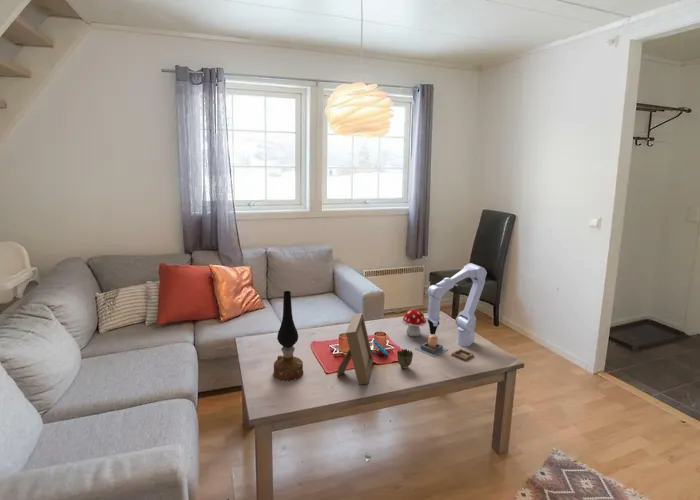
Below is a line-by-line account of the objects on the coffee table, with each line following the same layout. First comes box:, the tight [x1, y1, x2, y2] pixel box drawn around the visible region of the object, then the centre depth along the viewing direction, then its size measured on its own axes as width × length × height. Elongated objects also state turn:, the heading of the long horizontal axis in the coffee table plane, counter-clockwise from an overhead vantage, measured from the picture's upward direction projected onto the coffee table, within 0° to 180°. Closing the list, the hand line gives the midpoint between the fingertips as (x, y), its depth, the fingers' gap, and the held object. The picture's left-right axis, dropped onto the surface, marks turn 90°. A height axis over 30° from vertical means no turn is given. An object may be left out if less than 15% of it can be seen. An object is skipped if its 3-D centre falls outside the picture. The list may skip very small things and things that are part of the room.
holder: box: [449, 348, 476, 363], centre depth 210 cm, size 9×9×2 cm
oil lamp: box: [272, 290, 304, 382], centre depth 187 cm, size 14×15×40 cm
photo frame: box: [336, 312, 374, 385], centre depth 192 cm, size 15×22×25 cm
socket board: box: [414, 341, 449, 358], centre depth 216 cm, size 12×12×3 cm
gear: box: [373, 338, 389, 356], centre depth 213 cm, size 11×6×10 cm
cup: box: [396, 348, 414, 370], centre depth 198 cm, size 7×7×8 cm
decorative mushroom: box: [401, 308, 427, 338], centre depth 235 cm, size 14×14×15 cm
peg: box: [427, 334, 438, 349], centre depth 216 cm, size 4×4×7 cm
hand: (432, 333), depth 215 cm, fingers closed
